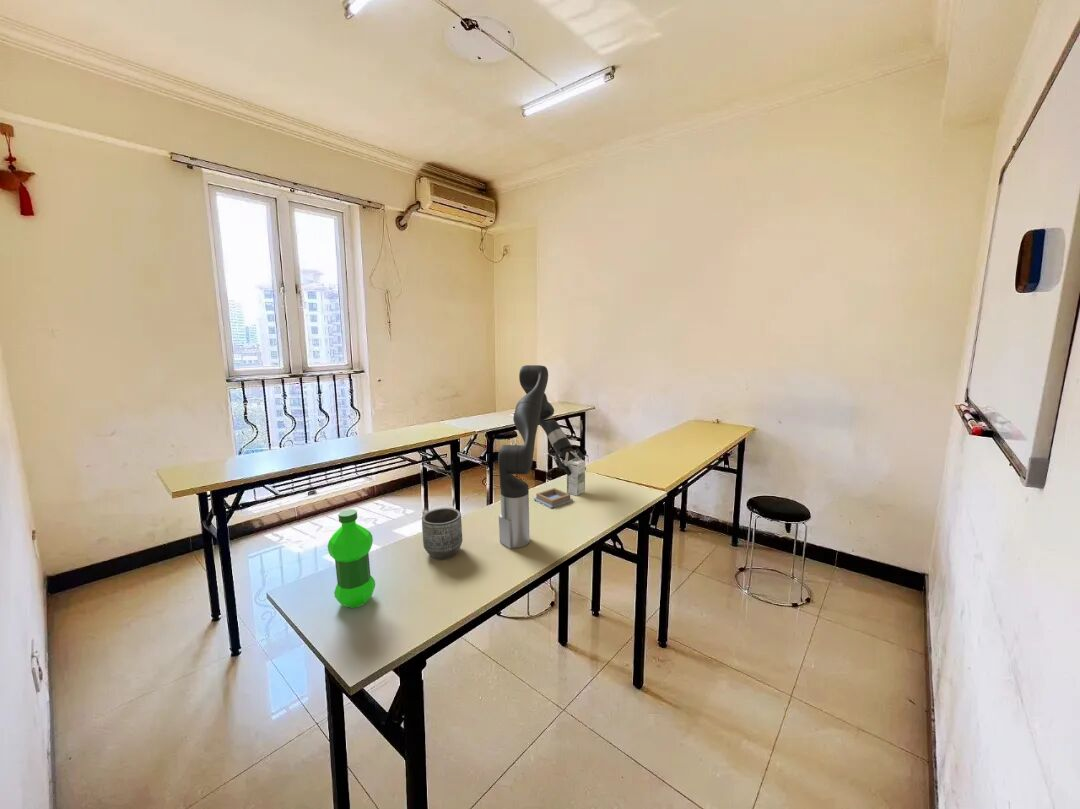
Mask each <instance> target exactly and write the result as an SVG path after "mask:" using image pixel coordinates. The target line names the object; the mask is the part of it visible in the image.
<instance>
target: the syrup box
mask: <svg viewBox="0 0 1080 809" xmlns="http://www.w3.org/2000/svg"><path fill="white" fill-rule="evenodd" d="M581 459H582V458H581ZM581 459H575V458H574V459H573V460H570V461H568V462H567V466H568V467H569V469H570V471H571V473H572V474H571V475H570V476H568V475H567V474H566V493H568V494H570V495H572V496H577V497H578V496H580V495H582V494H584V493H585V492H586V490H585V488H586V470H585V467H586V460H581Z"/></svg>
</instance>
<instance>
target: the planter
mask: <svg viewBox="0 0 1080 809" xmlns="http://www.w3.org/2000/svg"><path fill="white" fill-rule="evenodd" d="M462 526H463V524H462V513H461V511H460V510H458V509H456V508H452V507H440V508H435V509H432V510H429V511H426V512H425V513H424V514H423V515H422V517H421V530H422V543H423V544H422V545H423V546H422V547H423V549H424V550H425V551H426V552H427V554H428V555H429V556H430V557H431V558H432V559H433V560H437V561H440V560H447V559H452V558H453V557H454V556H455V555H457V553H458V551H459V550H460V548H461V546H462V543H463V527H462Z"/></svg>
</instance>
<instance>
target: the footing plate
mask: <svg viewBox="0 0 1080 809" xmlns="http://www.w3.org/2000/svg"><path fill="white" fill-rule="evenodd" d="M535 496H536V497H534V498H533V501H534V500H536V501H538V502H540V503H542V504H544V505H545V507H546V506H547V508H548V507H549V509H550V508H551V509H554V508H557V507H559V505H560V506H562V504H563V505H565V504H568V503H570V502H573V501H574V498H571V494H569V493H567V492H565V491H563V490H561V489H558V488H556V487H553V488H550V489H546V490H543V491H541V492H537V493H536V494H535ZM536 501H535V502H536ZM538 502H537V503H538ZM540 503H539V504H540ZM542 504H541V505H542ZM544 505H543V506H544ZM553 507H554V508H553Z"/></svg>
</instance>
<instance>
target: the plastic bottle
mask: <svg viewBox="0 0 1080 809" xmlns="http://www.w3.org/2000/svg"><path fill="white" fill-rule="evenodd" d="M357 519H358V511H357V510H356V509H352V508H351V509H344V510H342V511H340V512H339V513H338V522H339V523H341V526H340V527H339V528H338V529H337V530H336V531H335V532H334V533H333V534H332V536H330V539H329V540H328V543H327V551H328V554H329V556H330V557H331V558H333V559H334V562H335V564H334V565H335V571H336V572H335V573H336V581H337V584H336V586H335V589H334V592H333V593H334V598H335V599H336V600H337V602H338V603H339V604H340V605H341V606H343V607H346V608H348V607H352V608H351V609H356V608H359V607H358V606H360V607H362V606H363V605H365V604H366V603H367V601H369V600H370V599H371V598H372V596H373V593H374V591H375V588H376V580H375V578H374V577H373V576H372V575H371V565H370V556H369V554H370V553H369V552H370V551H371V549H372V546H373V540H374V539H373V535H372V533H371V531H370V530H368V529H367V528H366V527H364V526H362V525H361V524H358V523H356V521H357ZM364 603H365V604H364ZM362 604H363V605H362ZM361 605H362V606H361ZM355 607H356V608H355Z"/></svg>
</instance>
